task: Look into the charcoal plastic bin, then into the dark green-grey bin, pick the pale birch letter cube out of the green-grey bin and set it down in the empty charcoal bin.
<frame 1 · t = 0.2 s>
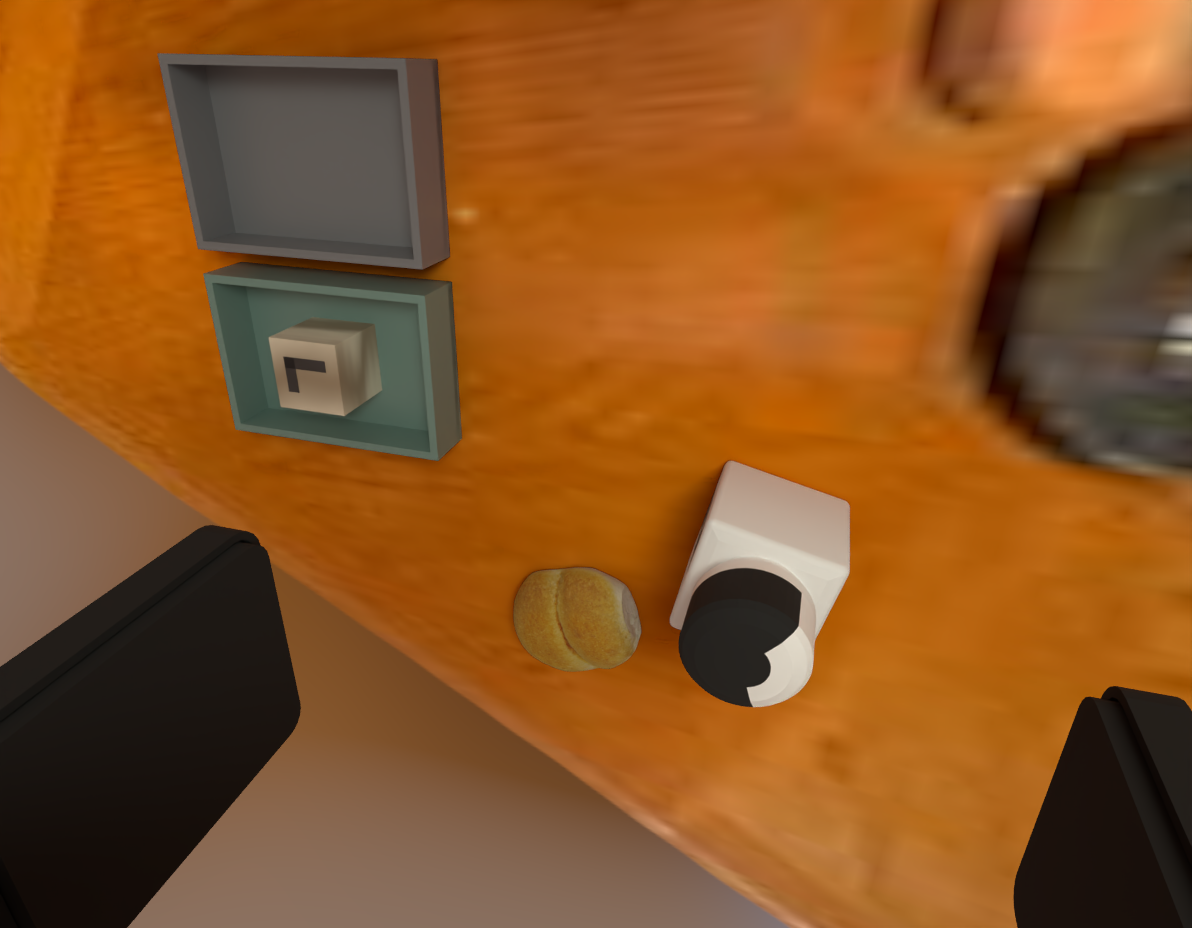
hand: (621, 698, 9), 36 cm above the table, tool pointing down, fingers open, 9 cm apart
charcoal bin: (328, 156, 46), on the table
bread roll: (583, 606, 56), on the table
container: (767, 527, 49), on the table
letter cube: (347, 354, 51), point 1 cm above the table, touching green-grey bin
green-grey bin: (352, 351, 52), on the table
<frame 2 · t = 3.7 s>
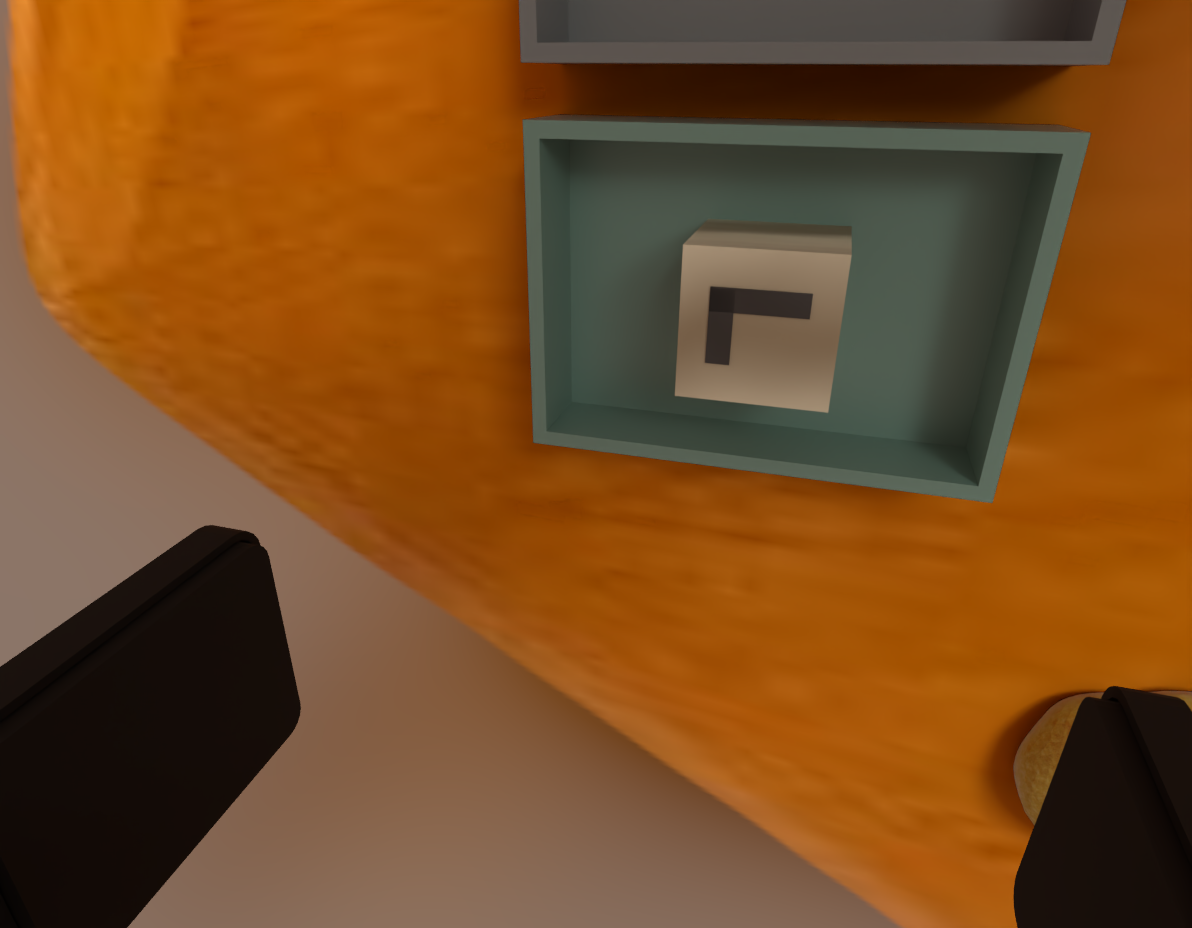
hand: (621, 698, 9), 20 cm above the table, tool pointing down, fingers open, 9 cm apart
bread roll: (1142, 753, 31), on the table
letter cube: (770, 292, 26), point 1 cm above the table, touching green-grey bin
green-grey bin: (772, 288, 27), on the table
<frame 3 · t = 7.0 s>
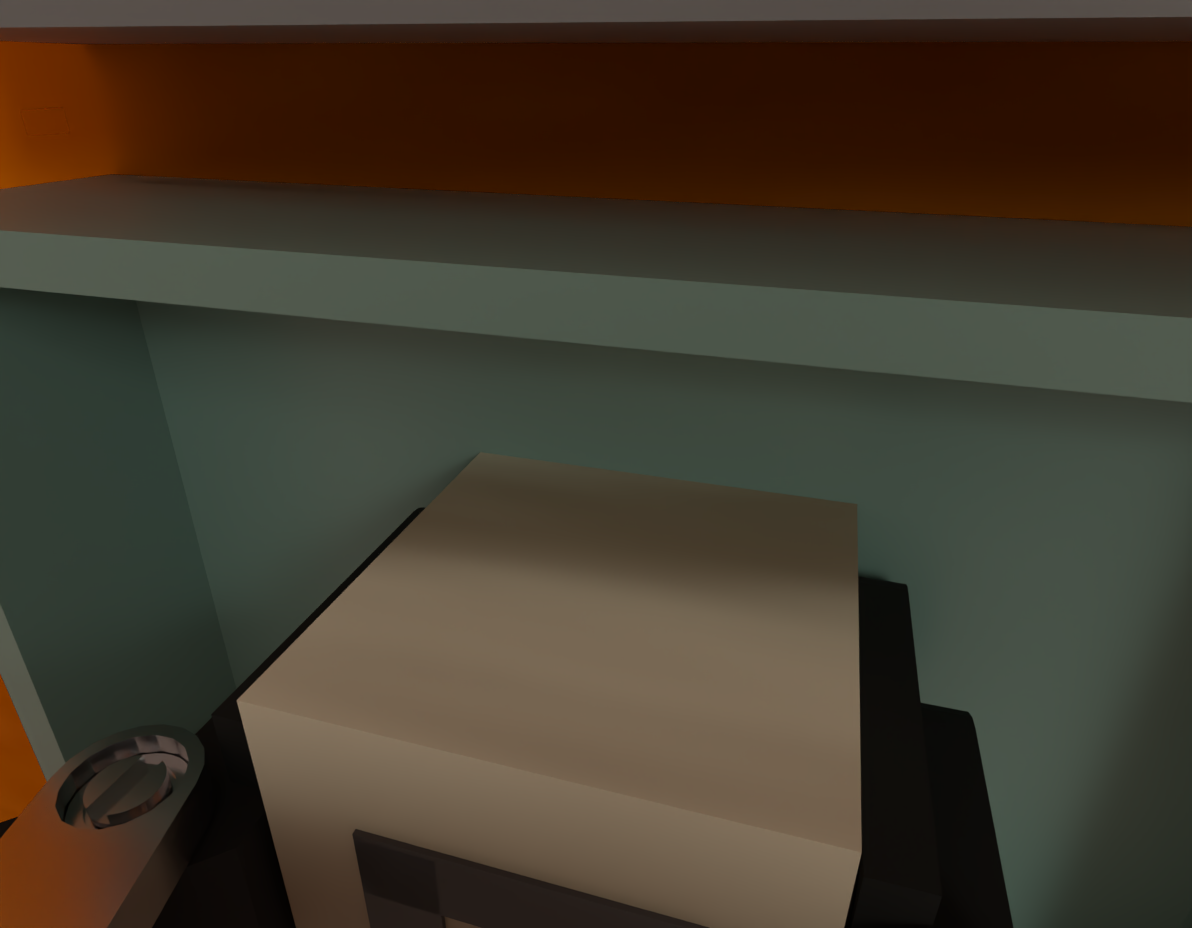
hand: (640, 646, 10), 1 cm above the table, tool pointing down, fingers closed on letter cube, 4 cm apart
letter cube: (650, 629, 10), point 1 cm above the table, touching green-grey bin, gripper
green-grey bin: (657, 602, 11), on the table
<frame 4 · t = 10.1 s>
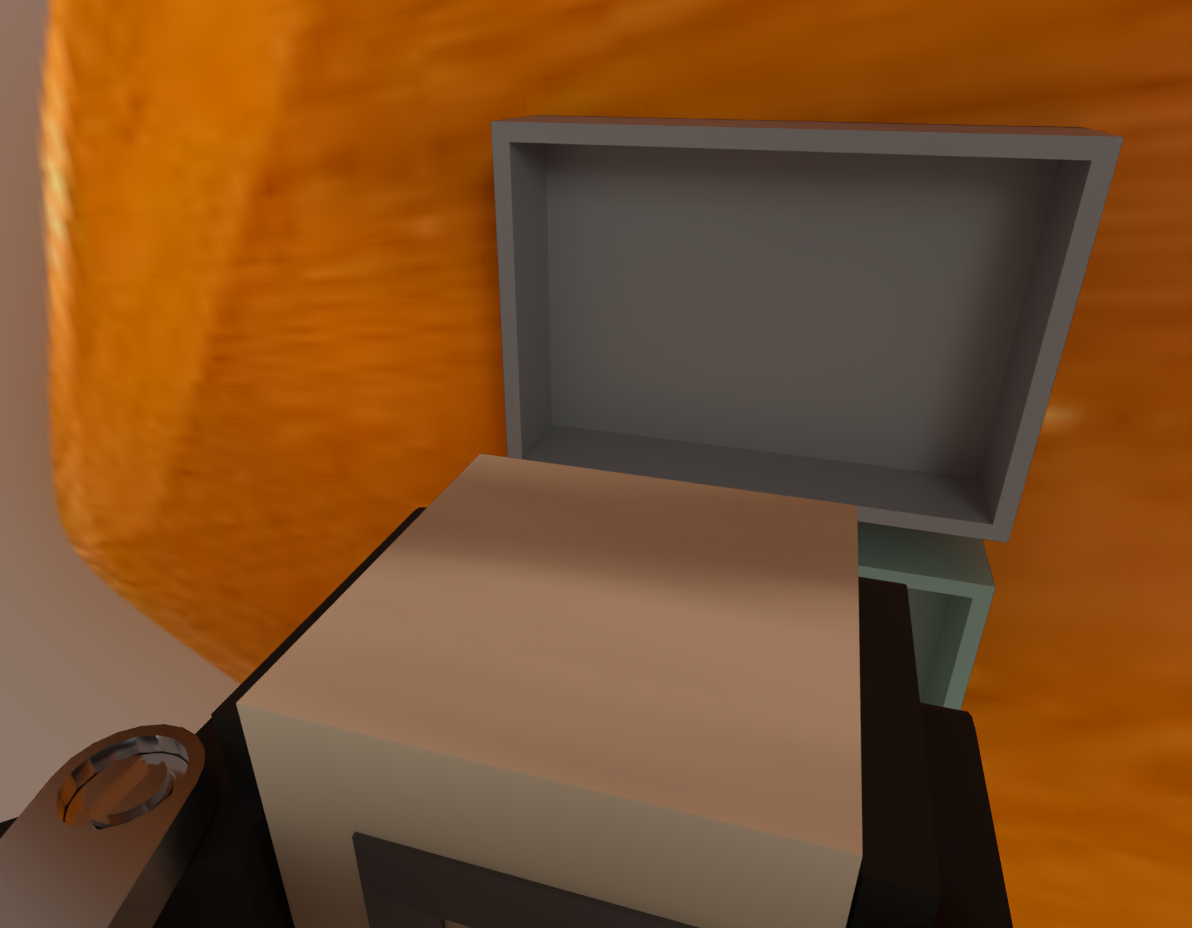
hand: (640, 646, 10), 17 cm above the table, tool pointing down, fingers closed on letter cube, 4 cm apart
charcoal bin: (767, 304, 24), on the table
letter cube: (650, 631, 10), point 17 cm above the table, touching gripper
green-grey bin: (734, 615, 30), on the table
when the fingers open (3 cm above the table, at t = 13.0 s): letter cube drops 2 cm, resting on charcoal bin.
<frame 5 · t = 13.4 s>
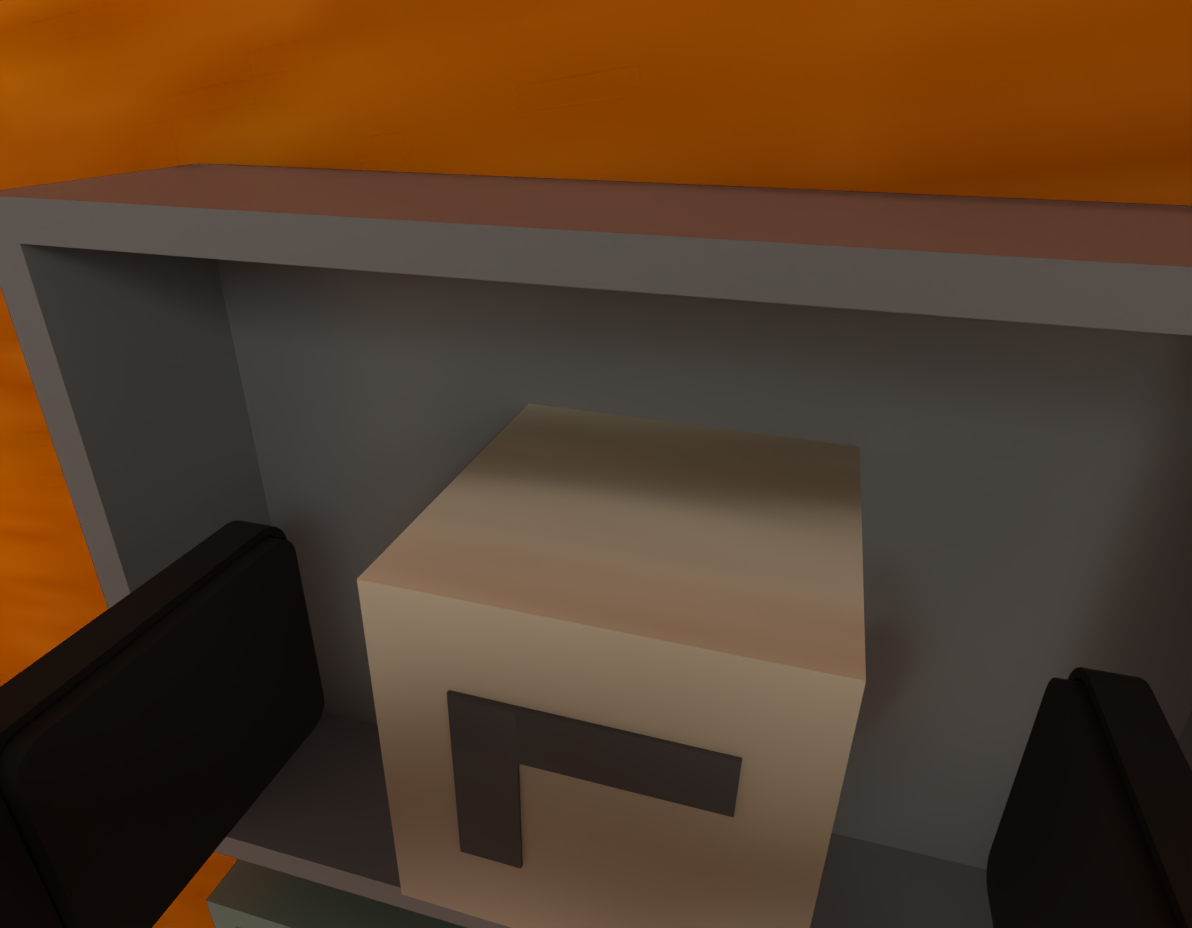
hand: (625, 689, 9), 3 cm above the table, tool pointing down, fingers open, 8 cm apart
charcoal bin: (678, 543, 12), on the table
letter cube: (674, 563, 12), point 1 cm above the table, touching charcoal bin
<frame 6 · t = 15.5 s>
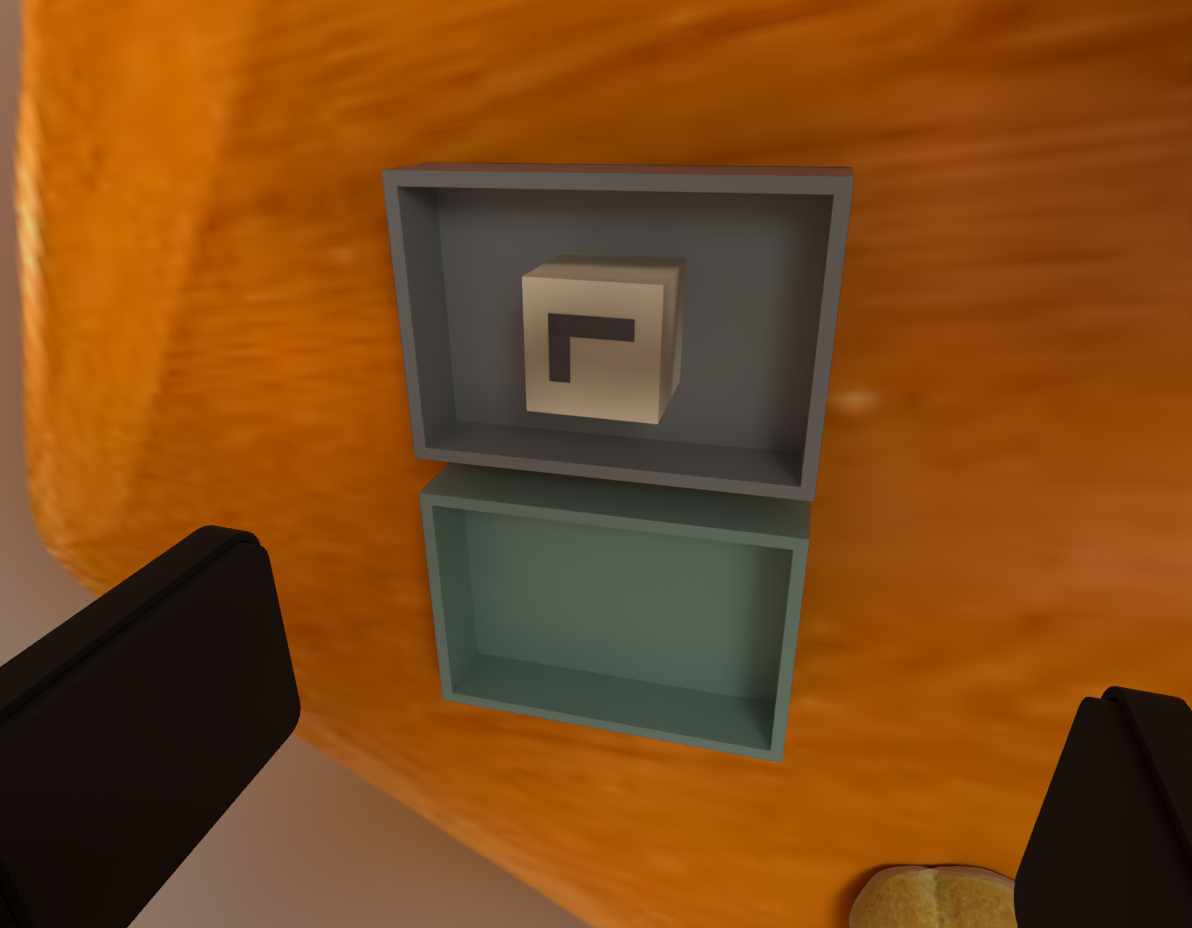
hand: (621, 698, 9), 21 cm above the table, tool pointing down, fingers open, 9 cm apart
charcoal bin: (624, 313, 29), on the table
bread roll: (950, 909, 38), on the table
letter cube: (622, 317, 29), point 1 cm above the table, touching charcoal bin
green-grey bin: (622, 582, 35), on the table
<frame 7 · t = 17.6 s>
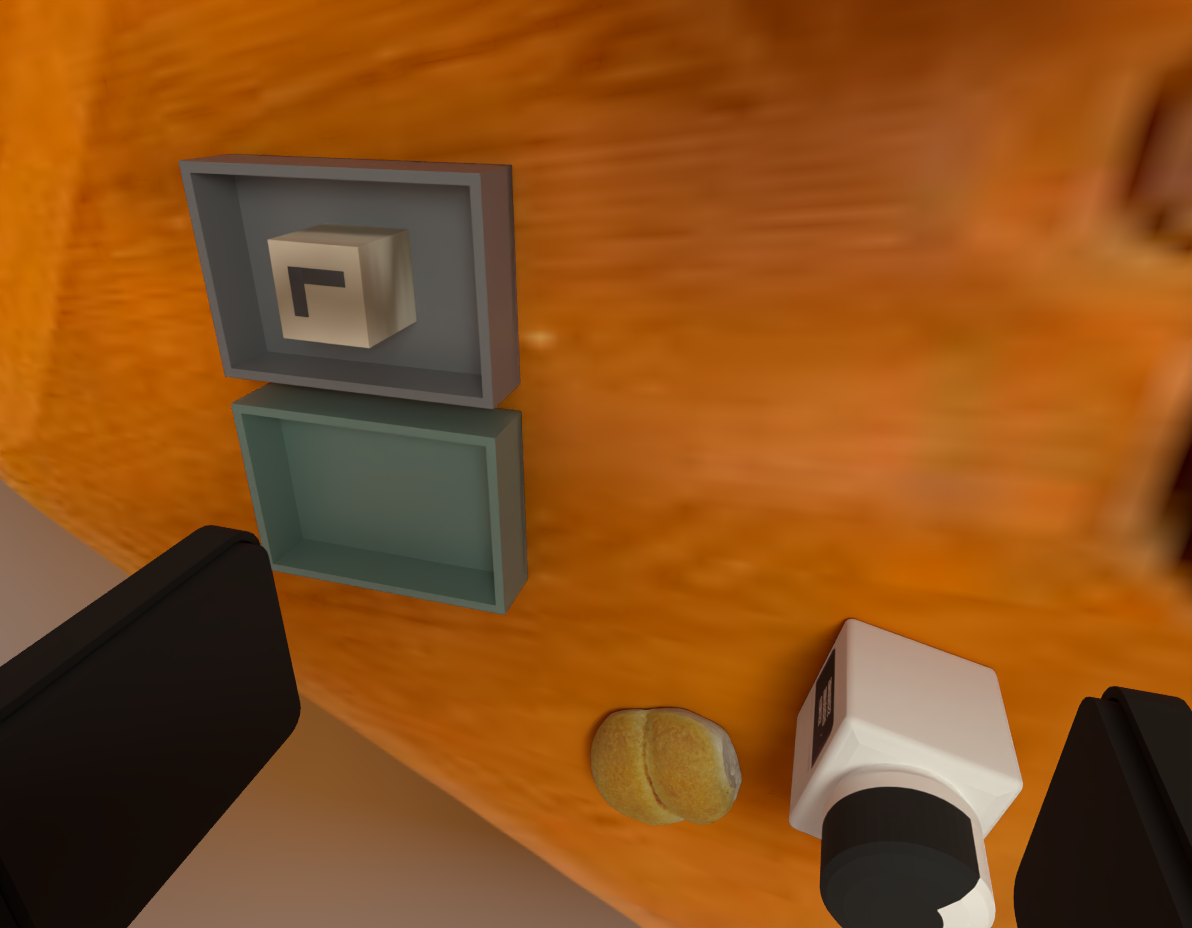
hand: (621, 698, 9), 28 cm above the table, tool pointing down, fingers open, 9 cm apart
charcoal bin: (377, 270, 39), on the table
bread roll: (670, 747, 48), on the table
container: (890, 690, 42), on the table
letter cube: (371, 272, 39), point 1 cm above the table, touching charcoal bin
green-grey bin: (401, 481, 45), on the table
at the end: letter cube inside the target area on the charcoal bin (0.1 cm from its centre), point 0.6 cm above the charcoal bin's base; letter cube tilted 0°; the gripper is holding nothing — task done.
